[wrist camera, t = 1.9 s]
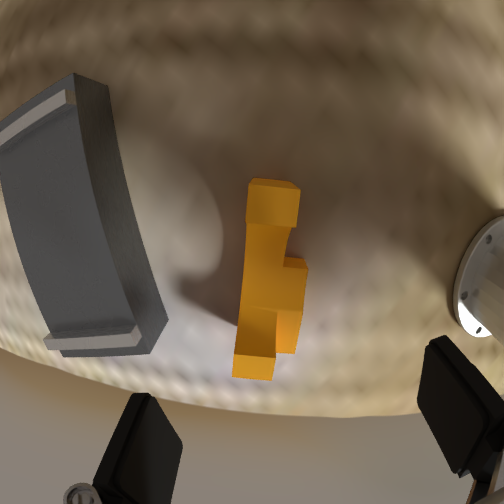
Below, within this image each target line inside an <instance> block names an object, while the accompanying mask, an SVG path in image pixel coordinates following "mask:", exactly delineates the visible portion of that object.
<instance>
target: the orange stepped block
mask: <svg viewBox="0 0 504 504" xmlns="http://www.w3.org/2000/svg"><path fill="white" fill-rule="evenodd" d="M300 193H301V190H300V189H299V188H298V187H296V186H295V185H294V184H293V183H291V182H290V181H281V180H272V179H263V178H253V179H252V180H251V182H250V183H249V186H248V197H247V208H246V219H245V223H246V224H247V228H246V246H245V259H244V271H243V281H242V291H241V301H240V310H239V318H238V327H237V335H236V342H235V349H234V358H233V370H232V377H236V378H246V379H256V380H269V381H272V377H273V371H274V366H275V360H276V353H288V354H295V350H296V345H297V340H298V335H299V330H300V325H301V320H302V315H303V305H304V295H305V287H306V280H307V274H308V267H307V265H306V262H305V259H301V258H291V257H284V256H285V251H286V246H287V241H288V237H289V234H290V231H291V229H292V227H293V228H296V224H297V217H298V209H299V201H300Z"/></svg>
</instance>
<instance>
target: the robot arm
mask: <svg viewBox="0 0 504 504" xmlns="http://www.w3.org/2000/svg"><path fill="white" fill-rule="evenodd" d="M453 308H454V313H455V317H456V319H457V321H458V323H459V325H460V326H461V327H462V328H463V329H464V330H465V331H466V332H467V333H468V334H470V335H472V336H474V337H486V336H490V335H493V336H494V337H495V338H496V339H497V340H498V341H499V342H500V343H501V344H502V345H503V346H504V216H501V217H497V218H495V219H494V220H492V221H490V222H489V223H488V224H486V225H485V226H484V227H483V228H482V229H481V230H480V231H479V232H478V234H477V235H476V236H475V237H474V239H473V240H472V242H471V244H470V245H469V247H468V248H467V250H466V252H465V255H464V257H463V259H462V261H461V264H460V267H459V269H458V272H457V276H456V280H455V284H454V293H453ZM417 403H418V407H419V409H420V410H421V412H422V414H423V416H424V418H425V420H426V421H427V423H428V425H429V427H430V429H431V431H432V433H433V435H434V437H435V439H436V440H437V443H438V444H439V446H440V448H441V450H442V452H443V454H444V456H445V458H446V460H447V462H448V464H449V467H450V469H451V471H452V472H453V473H455V474H456V473H457V474H458V476H459V478H461V477H463V476H465V475H467V474H469V473H471V475H472V477H473V479H474V481H473V484H472V487H471V490H470V493H469V496H468V498H467V501H466V504H504V401H503V399H502V398H501V397H500V396H499V394H498V393H497V392H496V391H495V389H494V388H493V387H492V386H491V384H490V383H489V382H488V381H487V380H486V378H485V377H484V376H483V375H482V374H481V372H480V371H479V370H478V369H477V368H476V366H474V365H473V364H472V363H471V362H470V361H469V360H468V359H467V358H466V357H465V355H464V354H463V353H462V352H461V351H460V350H459V349H458V347H457V346H456V345H455V344H454V343H453V342H452V341H451V340H450V339H449V337H447V336H446V335H443V336H440V337H438V338H435V339H432V340H430V342H429V345H427V346H426V348H425V354H424V361H423V368H422V374H421V380H420V385H419V391H418V396H417ZM182 449H183V445H182V441H181V439H180V438H179V436H178V435H177V433H176V432H175V430H174V428H173V427H172V425H171V424H170V422H169V420H168V419H167V417H166V415H165V414H164V412H163V410H162V409H161V407H160V406H159V403H158V402H157V400H156V398H155V397H152V396H151V395H150V394H149V393H133V394H132V395H131V397H130V399H129V401H128V403H127V405H126V407H125V409H124V411H123V414H122V416H121V418H120V420H119V422H118V424H117V427H116V429H115V431H114V433H113V435H112V438H111V440H110V442H109V444H108V447H107V449H106V451H105V453H104V456H103V458H102V461H101V463H100V465H99V467H98V470H97V472H96V475H95V477H94V479H93V484H92V485H90V484H87V483H77V484H74V485H73V486H71V487H70V488H69V489H68V490H67V491H66V492H65V494H64V499H63V503H64V504H171V499H172V494H173V490H174V485H175V480H176V476H177V471H178V467H179V463H180V458H181V454H182Z"/></svg>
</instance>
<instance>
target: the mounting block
mask: <svg viewBox="0 0 504 504" xmlns="http://www.w3.org/2000/svg"><path fill="white" fill-rule="evenodd" d="M0 180H1V186H2V191H3V196H4V200H5V205H6V209H7V213H8V218H9V221H10V225H11V229H12V233H13V236H14V240H15V243H16V246H17V250H18V253H19V256H20V259H21V262H22V265H23V268H24V271H25V273H26V276H27V279H28V281H29V284H30V287H31V289H32V292H33V294H34V297H35V299H36V302H37V304H38V306H39V309H40V311H41V313H42V315H43V318H44V320H45V322H46V324H47V326H48V328H49V330H50V333H49V334H48V335H47V336H46V337H45V338H44V339H43V341H44V343H45V345H46V347H47V349H48V350H60V352H61V354H62V356H63V357H105V356H126V355H142V354H150V353H151V351H152V349H153V347H154V345H155V343H156V342H157V340H158V338H159V336H160V334H161V333H162V331H163V329H164V327H165V326H166V324H167V322H168V320H169V319H168V317H167V314H166V311H165V308H164V306H163V303H162V300H161V297H160V294H159V292H158V289H157V286H156V283H155V280H154V277H153V274H152V271H151V268H150V265H149V261H148V258H147V255H146V252H145V249H144V245H143V242H142V239H141V235H140V232H139V228H138V225H137V221H136V217H135V214H134V210H133V206H132V203H131V199H130V195H129V191H128V187H127V183H126V179H125V174H124V170H123V166H122V161H121V157H120V152H119V147H118V142H117V137H116V132H115V127H114V121H113V116H112V110H111V104H110V98H109V91H108V86H107V85H104V84H102V83H99V82H97V81H94V80H91V79H89V78H86V77H83V76H81V75H78V74H75V73H72V74H70V75H68V76H66V77H65V78H63V79H61V80H60V81H58V82H56V83H55V84H53V85H52V86H50V87H48V88H47V89H45V90H44V91H42V92H41V93H39V94H38V95H36V96H35V97H33V98H32V99H30V100H29V101H27V102H26V103H25V104H23V105H22V106H21V107H19V108H18V109H16V110H15V111H14V112H12V113H11V114H10V115H9V116H7V117H6V118H5V119H3V120H2V121H1V122H0Z"/></svg>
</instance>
